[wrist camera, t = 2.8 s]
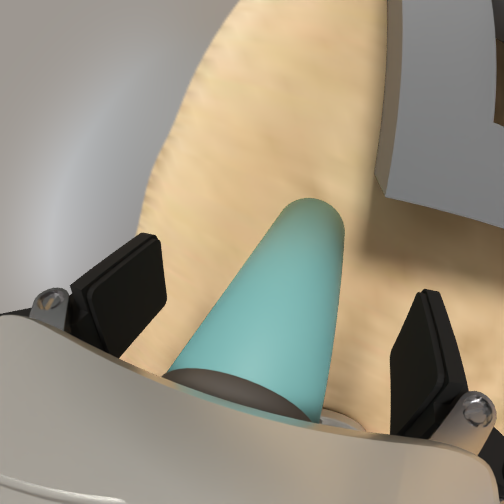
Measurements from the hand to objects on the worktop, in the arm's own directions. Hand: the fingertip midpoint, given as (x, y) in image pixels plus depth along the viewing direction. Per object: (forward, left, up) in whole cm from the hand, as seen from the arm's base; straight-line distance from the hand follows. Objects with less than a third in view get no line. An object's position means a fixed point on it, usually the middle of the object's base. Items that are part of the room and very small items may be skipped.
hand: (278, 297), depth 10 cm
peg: (-1, 0, -8) cm, 8 cm away
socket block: (+10, -10, -8) cm, 16 cm away
